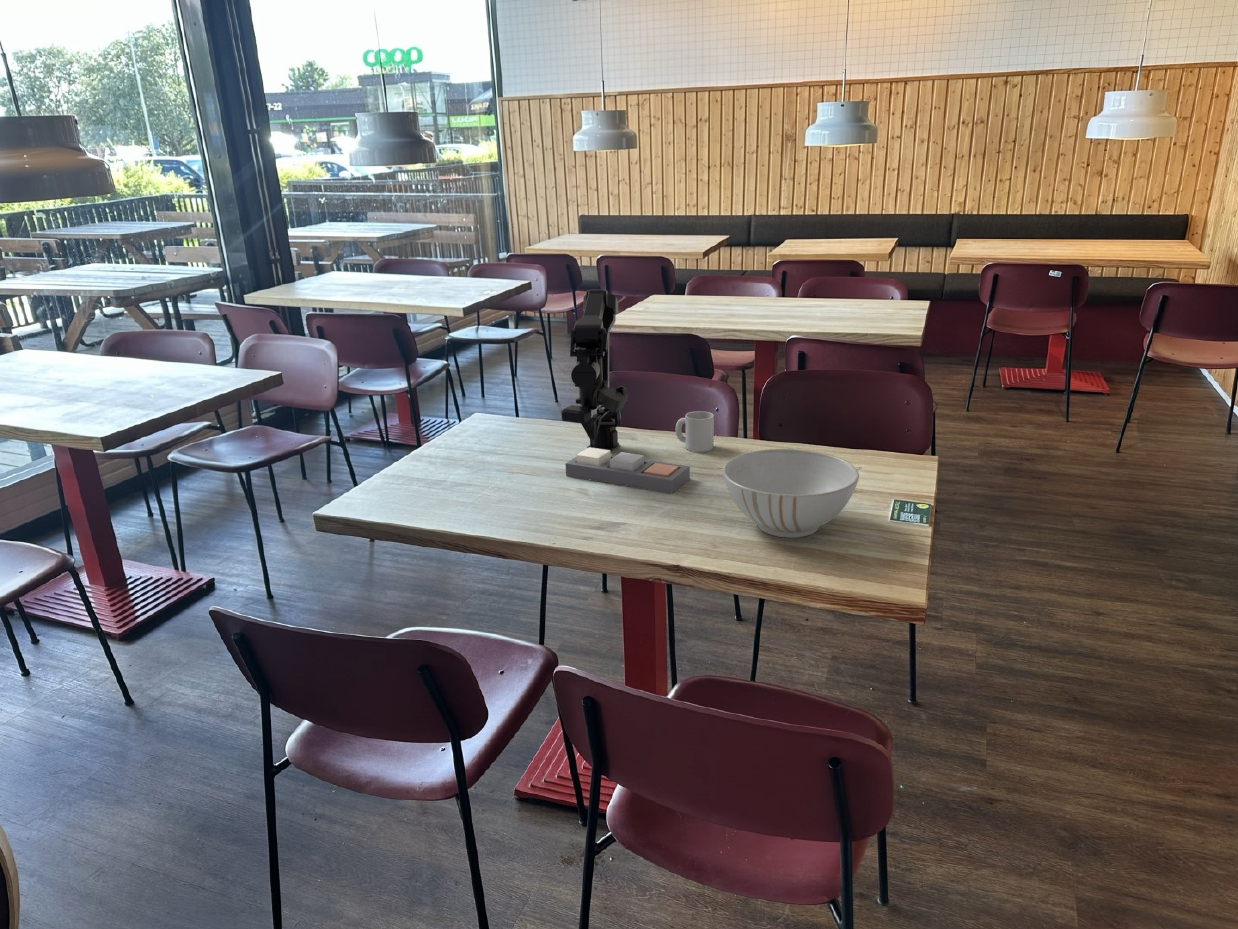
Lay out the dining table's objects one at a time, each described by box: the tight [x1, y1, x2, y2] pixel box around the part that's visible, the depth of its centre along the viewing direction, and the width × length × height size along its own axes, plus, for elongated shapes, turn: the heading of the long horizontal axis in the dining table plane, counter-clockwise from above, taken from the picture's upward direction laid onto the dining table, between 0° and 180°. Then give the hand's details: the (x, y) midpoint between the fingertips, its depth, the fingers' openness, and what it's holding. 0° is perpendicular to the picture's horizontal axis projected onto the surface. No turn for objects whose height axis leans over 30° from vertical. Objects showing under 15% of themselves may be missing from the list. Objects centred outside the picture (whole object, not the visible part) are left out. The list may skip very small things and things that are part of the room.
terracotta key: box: [644, 463, 678, 477], centre depth 203 cm, size 6×6×2 cm
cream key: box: [576, 447, 612, 466], centre depth 211 cm, size 6×6×2 cm
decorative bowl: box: [722, 448, 860, 539], centre depth 177 cm, size 27×27×12 cm
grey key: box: [609, 451, 645, 472], centre depth 207 cm, size 6×6×2 cm
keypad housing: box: [565, 453, 691, 495], centre depth 207 cm, size 28×10×3 cm, turn 62°
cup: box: [675, 410, 715, 453], centre depth 225 cm, size 7×10×9 cm
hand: (593, 440), depth 209 cm, fingers closed
